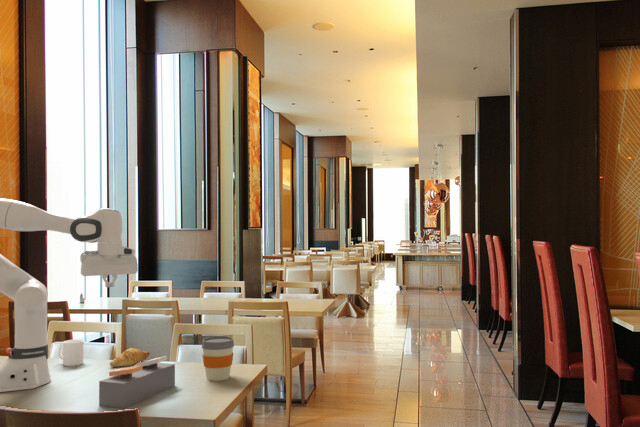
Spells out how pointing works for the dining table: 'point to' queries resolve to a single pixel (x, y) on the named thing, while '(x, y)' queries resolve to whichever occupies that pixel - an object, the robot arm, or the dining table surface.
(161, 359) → the rocker grey
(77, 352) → the cup
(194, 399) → the dining table surface
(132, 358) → the croissant
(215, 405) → the dining table surface
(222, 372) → the reusable coffee cup
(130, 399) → the block
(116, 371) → the rocker orange
